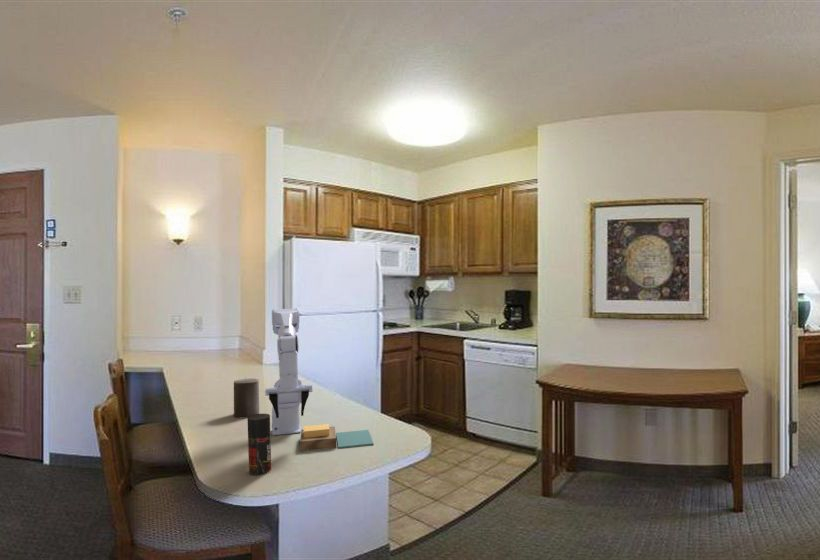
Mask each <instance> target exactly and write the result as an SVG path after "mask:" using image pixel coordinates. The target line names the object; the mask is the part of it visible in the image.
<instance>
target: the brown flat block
mask: <svg viewBox="0 0 820 560" xmlns="http://www.w3.org/2000/svg"><path fill="white" fill-rule="evenodd" d="M336 433H337V432H336V427H335V426H329V435H328V436H318V437H307V438H304V428H303V429H301V432H300V439H299V441H300V442H299V445H300V446H299V447H300V448H299V449H300V452H307V450H308V451H317V450H327V449H336V448H338V446H337V436H336Z"/></svg>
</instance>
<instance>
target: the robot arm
mask: <svg viewBox="0 0 820 560" xmlns="http://www.w3.org/2000/svg"><path fill="white" fill-rule="evenodd" d="M271 323H272V324H271V325H272V331H273V334H275V335H277V336H278V337H277V340H276V341H277V343H276V345H277V355H278V356H277V357H278V361H279V362H278V369H279V370H278V371H279V373H278V374H279V378H278V380H277V381H276V382H274V384H273V387H269V388H267V387H266V388H265V390H264V392H265V393H264V395H265V396H267V397H268V400H269V401H270V403H271V405H272V408H271V429H272V430H271V431H272V433H271V434H272V435H271V436H278V435H289V434H297V433H298V434H299V433H300V434H301V430H302V424H300V423H301V422H300V420H301V418H300V416H301V417H304V412H305V406H306V404H307V401H308V399H309V396H310V393H313V384H308V385H307V384H306V385H305V384H302V380H300V379H299V370H298V369H299V367H298V353H299V337H298V335H297V332H299V329H300V309H299V308H298V307H296V308H276V309H275V308H273V309H272V310H271ZM300 405H301V408H300Z"/></svg>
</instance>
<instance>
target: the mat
mask: <svg viewBox="0 0 820 560" xmlns="http://www.w3.org/2000/svg"><path fill="white" fill-rule="evenodd" d="M335 433H336V444H337V448H339V449H346V448H347V447H348V448H357V446H358V447H365V446H366V447H367V445H368V446H373V445H374V442H373V438H372V436H371V434H370V431H369V429H361V430H351V431H350V430H349V431H343V432H335ZM348 448H347V449H348Z"/></svg>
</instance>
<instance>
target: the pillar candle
mask: <svg viewBox="0 0 820 560" xmlns="http://www.w3.org/2000/svg"><path fill="white" fill-rule="evenodd" d="M259 380H260V379H258V378H247V377H244V378H239V379H236V380H234V381H233V416H234V417H235V416H236V417H235V418H240V417H246V418H248V417H249V416H251V415H255V414H260V386H259V385H260V381H259Z"/></svg>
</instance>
